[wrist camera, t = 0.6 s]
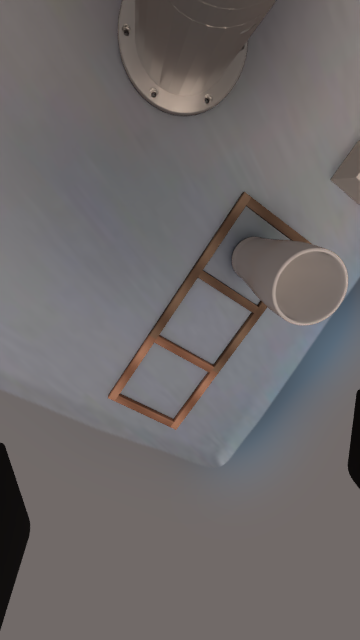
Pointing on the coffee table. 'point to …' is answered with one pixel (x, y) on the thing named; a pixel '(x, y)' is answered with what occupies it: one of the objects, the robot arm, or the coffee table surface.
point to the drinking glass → (292, 277)
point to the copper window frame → (175, 302)
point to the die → (350, 174)
